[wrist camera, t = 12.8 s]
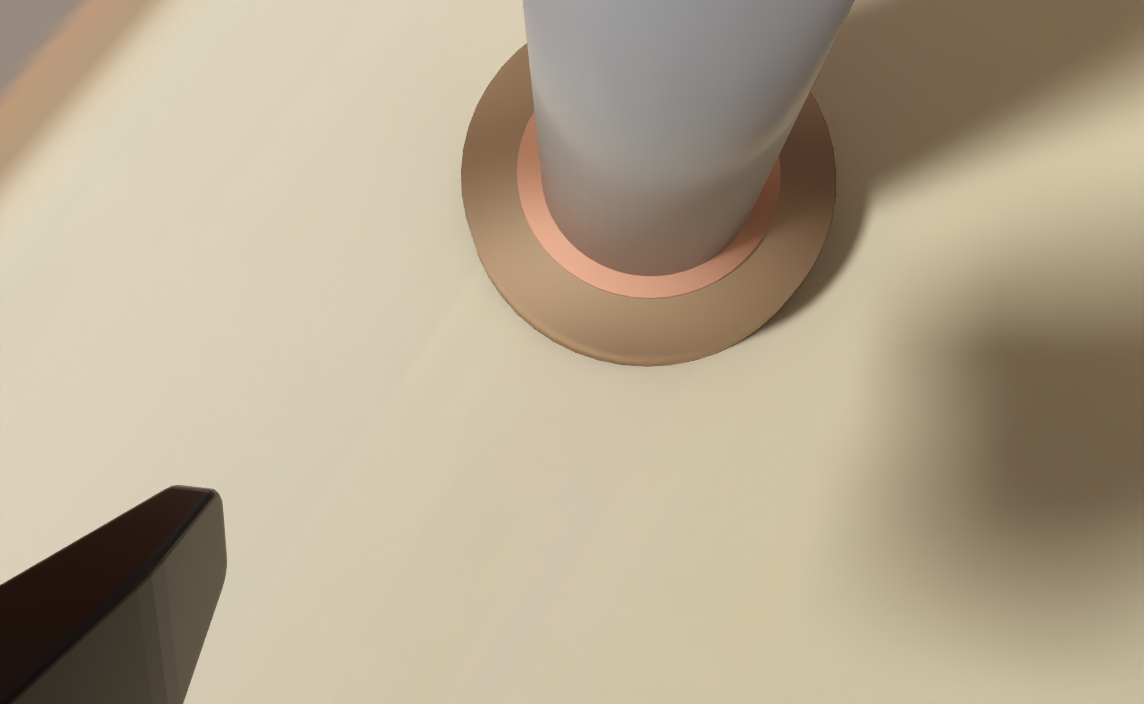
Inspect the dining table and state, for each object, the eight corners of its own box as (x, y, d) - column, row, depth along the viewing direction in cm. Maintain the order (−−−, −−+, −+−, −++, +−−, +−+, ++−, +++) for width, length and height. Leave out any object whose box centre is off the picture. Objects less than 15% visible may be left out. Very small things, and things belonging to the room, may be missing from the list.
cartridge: (796, 220, 21) (1127, -302, 8) (598, 312, 21) (626, -87, 8) (697, 39, 22) (860, -687, 9) (505, 124, 21) (397, -510, 9)
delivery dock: (852, 342, 22) (869, 328, 20) (487, 388, 22) (481, 377, 20) (790, 10, 23) (801, -21, 22) (450, 51, 23) (442, 22, 22)
